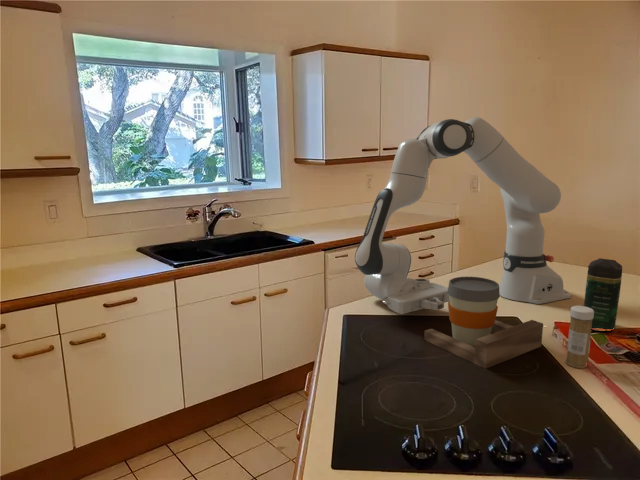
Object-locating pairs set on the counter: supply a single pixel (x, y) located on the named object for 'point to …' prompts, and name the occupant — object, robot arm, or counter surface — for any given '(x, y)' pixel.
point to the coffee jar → (603, 291)
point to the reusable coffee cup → (472, 307)
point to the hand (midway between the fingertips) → (440, 306)
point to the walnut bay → (492, 343)
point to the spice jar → (579, 336)
